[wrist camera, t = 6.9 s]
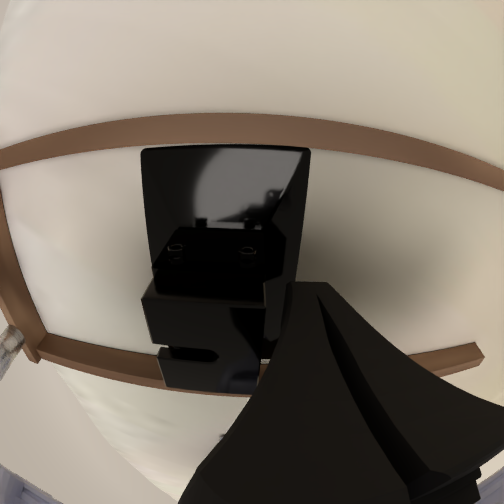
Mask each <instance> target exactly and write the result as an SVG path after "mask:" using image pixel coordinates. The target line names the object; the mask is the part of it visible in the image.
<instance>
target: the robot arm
mask: <svg viewBox="0 0 504 504" xmlns="http://www.w3.org/2000/svg"><path fill="white" fill-rule="evenodd" d="M280 327H281V333H280V336H279V339H278V342H277V345H276V347H275V350H274V352H273V355H272V357H271V359H270V361H269V364H268V366H267V368H266V370H265V372H264V374H263V376H262V378H261V380H260V381H259V383H258V385H257V387H256V389H255V391H254V392H253V394H252V396H251V397H250V399H249V401H248V402H247V404H246V405H245V407H244V408H243V410H242V411H241V413H240V414H239V416H238V417H237V419H236V420H235V422H234V423H233V424H232V426H231V427H230V429H229V430H228V431H227V433H226V434H225V435H224V437H221V438H220V441H219V443H218V444H217V445H216V446H215V447H214V449H213V450H212V451H211V452H210V453H209V454H208V456H207V457H206V458H205V459H204V460H203V461H202V462H201V464H200V465H199V466H198V467H197V469H196V471H195V473H194V475H193V477H192V478H191V480H190V482H189V483H188V485H187V487H186V489H185V490H184V492H183V494H182V496H181V498H180V500H179V502H178V504H504V467H502V468H501V469H500V470H498V471H497V472H495V473H494V474H493V475H491V476H490V477H488V478H487V479H485V480H484V481H482V482H481V483H480V484H478V485H477V483H476V480H477V479H478V478H480V477H481V471H480V468H479V467H480V466H482V465H483V464H485V463H486V462H488V461H489V460H490V459H492V458H493V457H494V456H496V455H497V454H498V453H500V452H501V451H502V450H504V407H503V406H500V405H497V404H494V403H492V402H489V401H486V400H484V399H481V398H478V397H476V396H474V395H472V394H470V393H468V392H466V391H464V390H461V389H459V388H457V387H455V386H454V385H452V384H450V383H448V382H446V381H445V380H443V379H441V378H440V377H438V376H436V375H435V374H433V373H431V372H430V371H428V370H427V369H425V368H424V367H422V366H421V365H419V364H418V363H416V362H415V361H413V360H412V359H411V358H409V357H408V356H407V355H405V354H404V353H403V352H401V351H400V350H399V349H398V348H396V347H395V346H394V345H393V344H391V343H390V342H389V341H388V340H387V339H386V338H384V337H383V336H382V335H381V334H380V333H379V332H378V331H376V330H375V329H374V328H373V327H372V326H371V325H370V324H369V323H368V322H367V321H366V320H365V319H364V318H363V317H362V316H360V315H359V314H358V313H357V312H356V311H355V310H354V309H353V308H352V307H351V306H350V305H349V304H348V303H347V302H346V300H345V299H344V298H343V297H342V296H341V295H340V294H339V293H338V292H337V291H336V290H335V289H334V288H333V287H332V286H331V285H330V284H328V283H327V282H295V281H290V282H289V283H287V284H286V291H285V298H284V305H283V312H282V319H281V326H280ZM0 504H63V503H61V502H59V501H57V500H56V499H54V498H53V497H52V496H51V495H50V494H48V493H46V492H44V491H43V490H41V489H39V488H38V487H36V486H35V485H33V484H31V483H30V482H28V481H27V480H25V479H23V478H22V477H20V476H19V475H17V474H15V473H13V472H11V471H10V470H8V469H7V468H5V467H4V466H2V465H1V464H0Z"/></svg>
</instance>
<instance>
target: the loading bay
mask: <svg viewBox="0 0 504 504" xmlns="http://www.w3.org/2000/svg"><path fill="white" fill-rule="evenodd" d="M176 143H249V144H270V145H284V146H297V147H307V148H317V149H325V150H333V151H341V152H348V153H355V154H361V155H367V156H373V157H379V158H384V159H389V160H394V161H399V162H404V163H408V164H413V165H417V166H422V167H426V168H430V169H434V170H438V171H441V172H445V173H449V174H452V175H456V176H459V177H463V178H466V179H469V180H473V181H476V182H479V183H482V184H485V185H488V186H491V187H493V188H496V189H499V190H502V191H504V170H502V169H500V168H497V167H495V166H493V165H491V164H488V163H486V162H483V161H481V160H478V159H476V158H473V157H471V156H468V155H465V154H463V153H460V152H457V151H454V150H451V149H448V148H445V147H442V146H439V145H436V144H433V143H429V142H426V141H423V140H419V139H416V138H412V137H408V136H404V135H400V134H396V133H392V132H388V131H383V130H379V129H374V128H369V127H364V126H359V125H354V124H348V123H342V122H335V121H329V120H321V119H313V118H305V117H295V116H284V115H270V114H250V113H194V114H174V115H161V116H150V117H140V118H132V119H124V120H117V121H111V122H105V123H99V124H93V125H88V126H83V127H78V128H73V129H69V130H65V131H60V132H56V133H52V134H49V135H45V136H41V137H38V138H34V139H31V140H28V141H24V142H21V143H18V144H15V145H12V146H9V147H6V148H4V149H1V150H0V170H1V169H5V168H9V167H13V166H16V165H20V164H25V163H29V162H33V161H38V160H42V159H47V158H52V157H58V156H63V155H69V154H75V153H81V152H88V151H95V150H103V149H111V148H120V147H130V146H142V145H156V144H176ZM0 308H1V310H2V312H3V314H4V316H5V318H6V320H7V322H8V324H9V325H8V327H7V328H6V329H5V330H4V332H3V333H2V334H1V336H0V380H1V379H2V378H3V376H4V374H5V373H6V371H7V370H8V368H9V366H10V365H11V364H12V362H13V360H14V359H15V357H16V356H17V355H18V353H19V352H20V350H21V349H23V351H24V352H25V354H26V356H27V357H28V359H29V360H30V361H32V362H34V363H37V364H38V363H39V361H40V360H41V358H42V359H45V360H48V361H50V362H53V363H56V364H59V365H62V366H65V367H68V368H72V369H75V370H78V371H82V372H85V373H89V374H93V375H96V376H100V377H104V378H108V379H112V380H117V381H121V382H126V383H131V384H136V385H141V386H146V387H152V388H158V389H164V390H171V391H178V392H186V393H195V394H205V395H217V396H232V397H251V396H252V395H245V394H226V393H213V392H202V391H193V390H184V389H177V388H169V387H166V386H165V383H164V380H163V377H162V374H161V371H160V368H159V364H158V361H157V358H156V357H157V356H154V355H147V354H140V353H134V352H128V351H123V350H117V349H112V348H107V347H102V346H97V345H93V344H88V343H84V342H80V341H76V340H72V339H68V338H64V337H60V336H56V335H53V334H49V333H47V332H46V330H45V328H44V326H43V324H42V322H41V319H40V317H39V315H38V313H37V311H36V308H35V306H34V304H33V301H32V299H31V297H30V294H29V292H28V289H27V287H26V284H25V281H24V279H23V276H22V273H21V270H20V267H19V264H18V261H17V258H16V255H15V252H14V248H13V245H12V241H11V238H10V234H9V230H8V226H7V222H6V217H5V213H4V208H3V203H2V197H1V191H0ZM408 357H409V358H411V359H412V360H413V361H415V362H416V363H418V364H419V365H421V366H422V367H424V368H425V369H427V370H428V371H430V372H431V373H433V374H435V375H436V376H438V377H442V376H446V375H450V374H453V373H457V372H460V371H464V370H467V369H470V368H473V367H476V366H479V365H480V363H481V362H482V361H483V359H484V358H485V357H484V355H483V354H482V352H481V351H480V349H479V348H478V346H477V345H476V343H471V344H466V345H462V346H458V347H453V348H448V349H443V350H438V351H433V352H427V353H421V354H415V355H409V356H408ZM267 366H268V364H261V365H260V374H259V381H260V380H261V378H262V376H263V374H264V372H265V370H266V368H267Z"/></svg>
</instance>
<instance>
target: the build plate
mask: <svg viewBox="0 0 504 504" xmlns="http://www.w3.org/2000/svg"><path fill="white" fill-rule="evenodd" d="M310 158H311V151H310V149H309V148H307V147H297V146H283V145H256V144H211V145H184V146H168V147H155V148H145V149H143V150H142V151H141V173H142V187H143V198H144V209H145V218H146V226H147V234H148V242H149V249H150V256H151V262H152V273H153V278H152V280H151V282H150V284H149V285H148V287H147V289H146V291H145V293H144V294H143V296H142V298H141V302H142V306H143V310H144V314H145V318H146V322H147V326H148V330H149V334H150V337H151V341H152V343H153V344H161V345H168V347H169V348H167V347H160V349H159V351H158V354H157V357H156V358H157V361H158V364H159V368H160V371H161V374H162V377H163V380H164V383H165V386H166V387H169V388H177V389H184V390H193V391H202V392H213V393H226V394H245V395H252V394H253V392H254V391H255V389H256V387H257V385H258V383H259V374H260V365H261V359H271V357H272V355H273V352H274V350H275V347H276V345H277V342H278V339H279V336H280V333H281V327H280V326H281V319H282V312H283V305H284V298H285V291H286V284H287V283H289V282H290V281H295V278H296V271H297V264H298V257H299V250H300V243H301V236H302V228H303V221H304V213H305V204H306V196H307V187H308V178H309V168H310Z"/></svg>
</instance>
